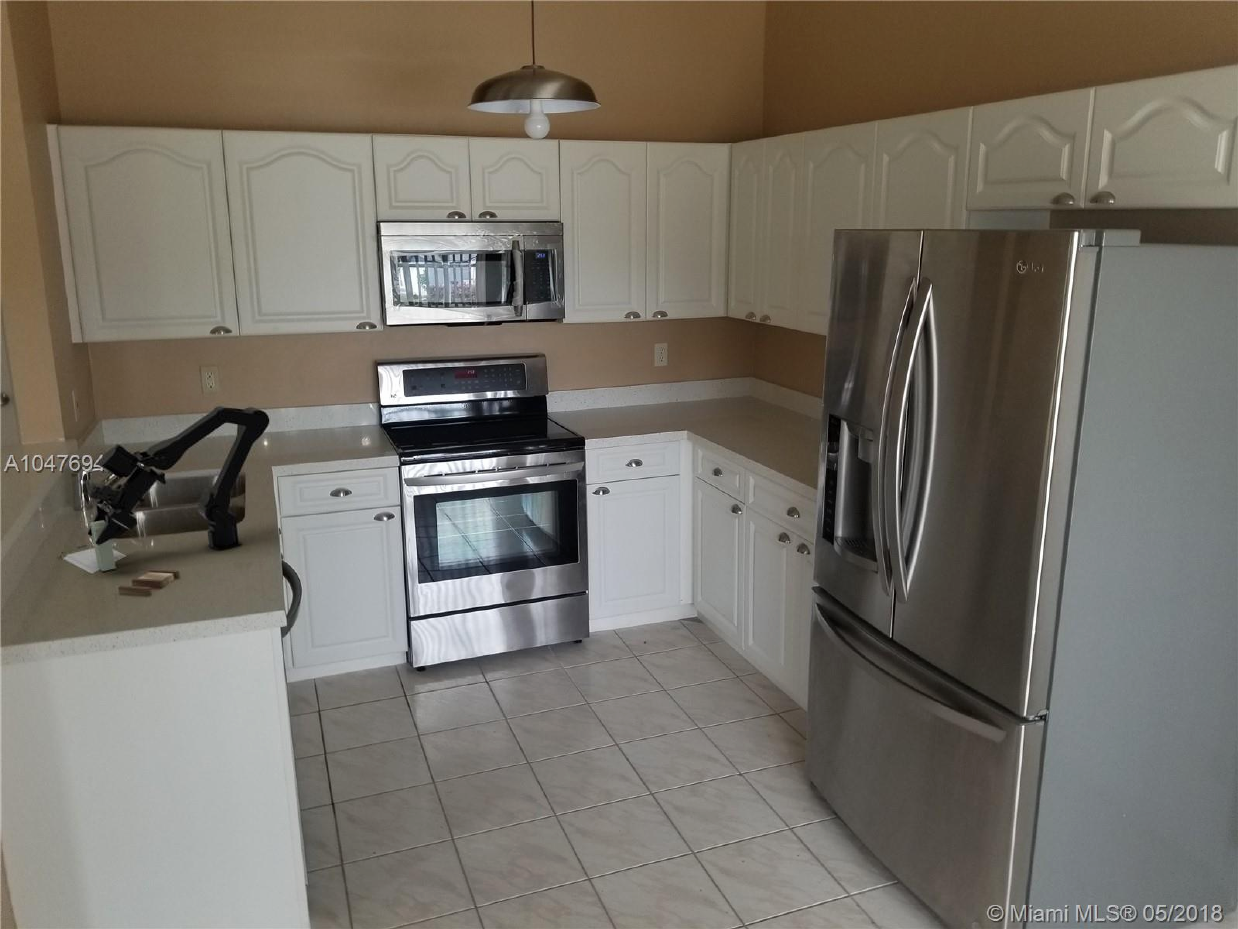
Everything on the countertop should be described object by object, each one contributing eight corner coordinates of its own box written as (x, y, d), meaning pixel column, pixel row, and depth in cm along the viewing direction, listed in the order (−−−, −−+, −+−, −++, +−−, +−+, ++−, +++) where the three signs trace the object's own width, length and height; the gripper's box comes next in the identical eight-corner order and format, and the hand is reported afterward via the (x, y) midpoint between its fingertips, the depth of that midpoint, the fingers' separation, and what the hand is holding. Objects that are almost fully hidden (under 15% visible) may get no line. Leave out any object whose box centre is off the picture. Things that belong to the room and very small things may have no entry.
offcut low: (150, 578, 224) (149, 575, 224) (174, 579, 223) (173, 576, 223) (139, 584, 220) (138, 581, 220) (163, 586, 219) (163, 582, 219)
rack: (152, 579, 226) (150, 569, 225) (180, 580, 225) (179, 570, 224) (119, 597, 215) (118, 587, 214) (149, 599, 214) (147, 588, 213)
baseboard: (108, 590, 221) (158, 576, 230) (106, 579, 220) (157, 565, 229) (56, 562, 240) (105, 550, 249) (55, 552, 239) (103, 540, 248)
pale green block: (110, 561, 235) (103, 520, 232) (115, 568, 230) (108, 526, 227) (97, 564, 233) (90, 522, 230) (102, 571, 228) (95, 528, 226)
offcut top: (149, 575, 224) (149, 572, 224) (173, 576, 223) (173, 573, 223) (138, 581, 220) (138, 578, 220) (163, 582, 219) (162, 579, 219)
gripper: (98, 463, 234) (55, 513, 230) (115, 477, 220) (70, 531, 216) (136, 487, 241) (96, 536, 237) (155, 502, 227) (112, 555, 223)
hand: (93, 539), depth 228 cm, fingers open, 9 cm apart
